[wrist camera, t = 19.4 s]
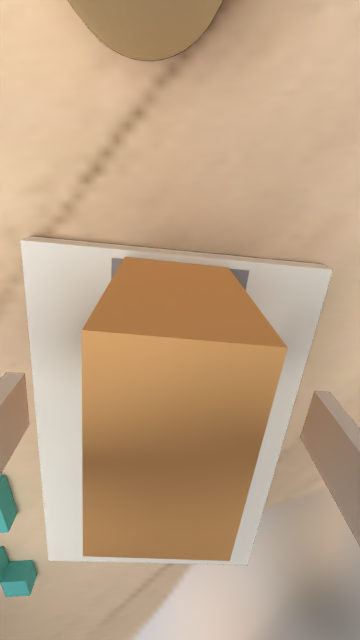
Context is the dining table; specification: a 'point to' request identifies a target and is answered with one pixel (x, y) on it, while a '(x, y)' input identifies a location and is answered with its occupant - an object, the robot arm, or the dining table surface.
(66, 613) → the dining table surface
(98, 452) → the tan rectangular block
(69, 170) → the dining table surface
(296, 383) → the painted board
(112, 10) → the coffee cup
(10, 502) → the alien figure
